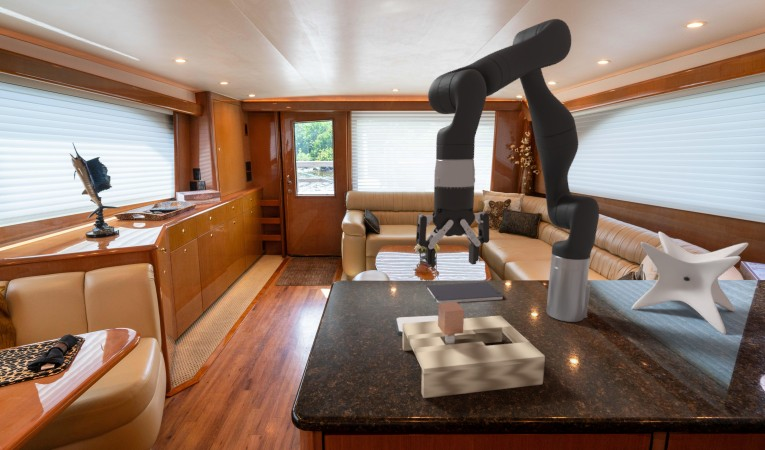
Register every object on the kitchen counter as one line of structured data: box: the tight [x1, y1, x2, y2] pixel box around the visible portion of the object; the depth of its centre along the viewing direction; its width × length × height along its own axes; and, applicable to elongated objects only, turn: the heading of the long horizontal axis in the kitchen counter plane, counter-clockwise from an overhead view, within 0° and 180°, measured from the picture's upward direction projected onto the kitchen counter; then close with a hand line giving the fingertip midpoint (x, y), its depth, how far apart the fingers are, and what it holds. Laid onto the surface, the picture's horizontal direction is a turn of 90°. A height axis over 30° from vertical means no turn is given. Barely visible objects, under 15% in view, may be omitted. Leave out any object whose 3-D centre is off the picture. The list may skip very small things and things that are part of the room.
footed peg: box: [437, 302, 465, 345], centre depth 76 cm, size 5×5×14 cm
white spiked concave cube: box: [631, 231, 749, 335], centre depth 102 cm, size 20×20×20 cm
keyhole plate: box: [401, 315, 546, 399], centre depth 77 cm, size 24×18×6 cm
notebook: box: [426, 281, 504, 304], centre depth 117 cm, size 13×2×21 cm
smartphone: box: [394, 314, 438, 337], centre depth 95 cm, size 9×2×16 cm
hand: (451, 264), depth 73 cm, fingers open, 8 cm apart
